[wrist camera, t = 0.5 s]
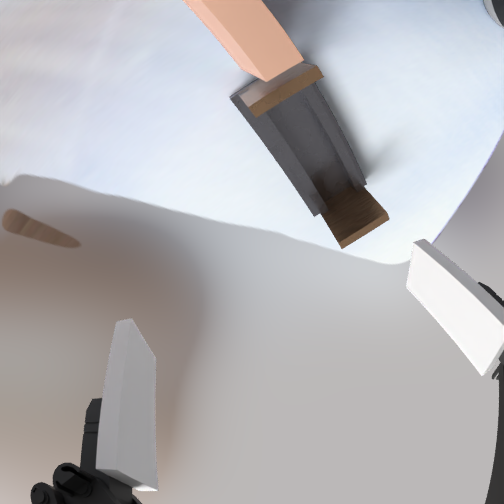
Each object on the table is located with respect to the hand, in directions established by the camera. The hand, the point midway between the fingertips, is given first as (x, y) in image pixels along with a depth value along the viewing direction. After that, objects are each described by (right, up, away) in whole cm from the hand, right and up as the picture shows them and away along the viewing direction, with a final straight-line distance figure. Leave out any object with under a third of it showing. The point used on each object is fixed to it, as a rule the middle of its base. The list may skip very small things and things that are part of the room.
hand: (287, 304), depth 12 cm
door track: (+5, +16, +21) cm, 27 cm away
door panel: (-5, +27, +10) cm, 29 cm away
